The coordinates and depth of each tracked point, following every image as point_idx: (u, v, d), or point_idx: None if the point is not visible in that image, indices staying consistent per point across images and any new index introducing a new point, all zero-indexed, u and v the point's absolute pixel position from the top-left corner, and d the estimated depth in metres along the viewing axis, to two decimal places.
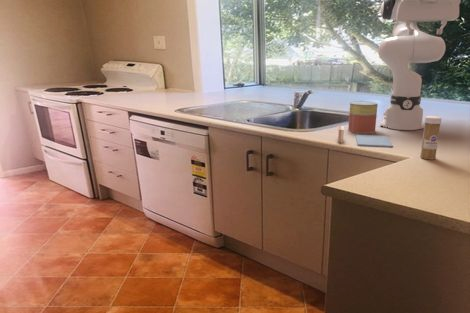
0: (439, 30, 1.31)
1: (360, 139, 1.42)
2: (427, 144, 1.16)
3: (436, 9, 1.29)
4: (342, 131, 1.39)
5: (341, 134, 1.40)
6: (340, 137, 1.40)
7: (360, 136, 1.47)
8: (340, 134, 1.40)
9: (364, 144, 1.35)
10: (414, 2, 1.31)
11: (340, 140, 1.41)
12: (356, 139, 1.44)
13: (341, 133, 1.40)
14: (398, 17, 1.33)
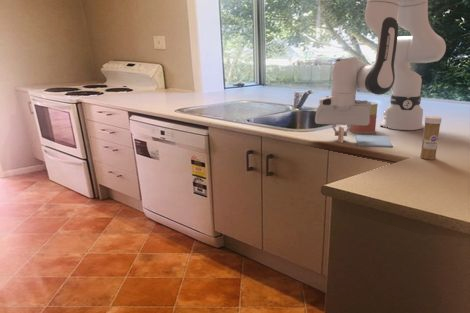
0: (344, 133, 1.42)
1: (360, 139, 1.42)
2: (427, 144, 1.16)
3: (349, 115, 1.39)
4: (342, 131, 1.39)
5: (341, 134, 1.40)
6: (340, 137, 1.40)
7: (360, 136, 1.47)
8: (340, 134, 1.40)
9: (364, 144, 1.35)
10: (329, 109, 1.40)
11: (340, 140, 1.40)
12: (356, 139, 1.44)
13: (341, 133, 1.40)
14: (316, 120, 1.43)
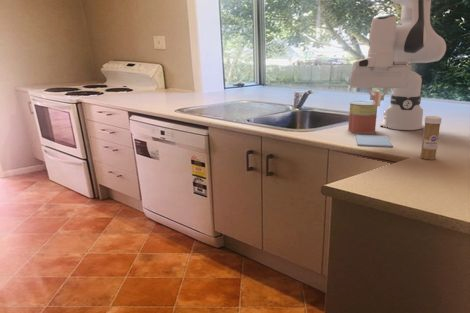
0: (381, 97, 1.36)
1: (360, 139, 1.42)
2: (427, 144, 1.16)
3: (387, 77, 1.32)
4: (379, 94, 1.32)
5: (378, 97, 1.33)
6: (377, 100, 1.33)
7: (360, 136, 1.47)
8: (377, 97, 1.33)
9: (364, 144, 1.35)
10: (365, 71, 1.33)
11: (377, 103, 1.33)
12: (356, 139, 1.44)
13: (378, 96, 1.33)
14: (351, 84, 1.36)
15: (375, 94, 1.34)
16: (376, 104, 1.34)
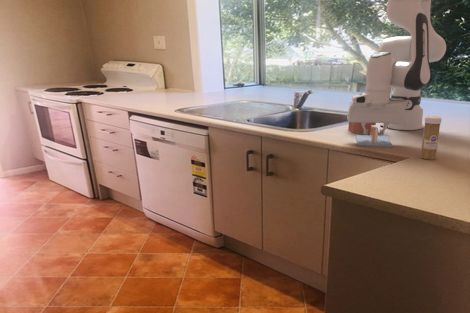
0: (381, 132, 1.39)
1: (360, 139, 1.42)
2: (427, 144, 1.16)
3: (383, 113, 1.36)
4: (376, 130, 1.36)
5: (375, 134, 1.36)
6: (374, 137, 1.37)
7: (360, 136, 1.47)
8: (374, 134, 1.37)
9: (364, 144, 1.35)
10: (363, 106, 1.37)
11: (374, 140, 1.37)
12: (356, 139, 1.44)
13: (375, 132, 1.36)
14: (348, 119, 1.40)
15: (372, 130, 1.38)
16: (373, 140, 1.37)
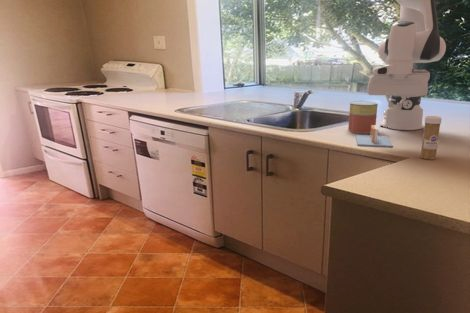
0: (399, 105, 1.35)
1: (360, 139, 1.42)
2: (427, 144, 1.16)
3: (406, 85, 1.32)
4: (376, 130, 1.36)
5: (375, 134, 1.36)
6: (374, 137, 1.37)
7: (360, 136, 1.47)
8: (374, 134, 1.37)
9: (364, 144, 1.35)
10: (384, 78, 1.32)
11: (374, 140, 1.37)
12: (356, 139, 1.44)
13: (375, 132, 1.36)
14: (369, 91, 1.35)
15: (372, 130, 1.38)
16: (373, 140, 1.37)
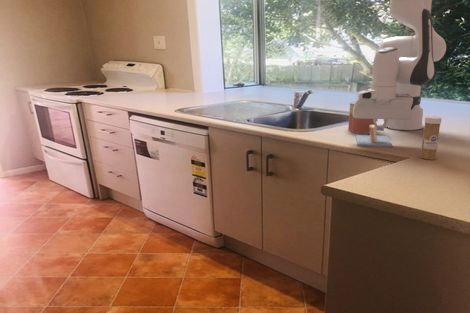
0: (381, 128, 1.38)
1: (360, 139, 1.42)
2: (427, 144, 1.16)
3: (390, 109, 1.35)
4: (374, 130, 1.36)
5: (374, 133, 1.37)
6: (373, 136, 1.37)
7: (360, 136, 1.47)
8: (373, 133, 1.37)
9: (364, 144, 1.35)
10: (369, 102, 1.36)
11: (373, 139, 1.37)
12: (356, 139, 1.44)
13: (374, 132, 1.36)
14: (354, 115, 1.39)
15: (370, 130, 1.38)
16: (373, 140, 1.37)
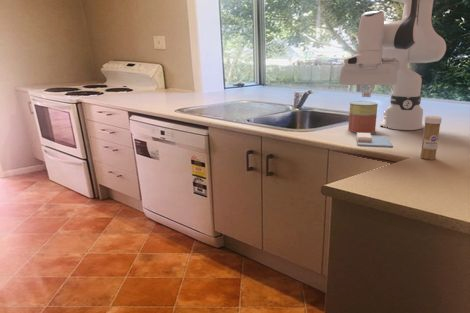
0: (367, 94, 1.37)
1: None
2: (427, 144, 1.16)
3: (376, 74, 1.33)
4: (359, 138, 1.38)
5: (362, 139, 1.38)
6: (366, 140, 1.38)
7: None
8: (362, 140, 1.38)
9: (364, 144, 1.35)
10: (354, 68, 1.34)
11: (369, 140, 1.38)
12: (356, 139, 1.44)
13: (361, 139, 1.38)
14: (340, 81, 1.37)
15: None
16: (370, 140, 1.38)
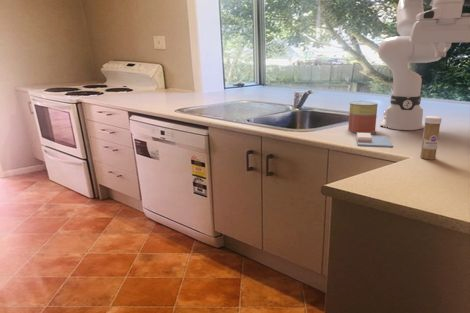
0: (443, 53, 1.25)
1: None
2: (427, 144, 1.16)
3: (454, 31, 1.22)
4: (359, 138, 1.38)
5: (362, 139, 1.38)
6: (366, 140, 1.38)
7: None
8: (362, 140, 1.38)
9: (364, 144, 1.35)
10: (430, 23, 1.22)
11: (369, 140, 1.38)
12: (356, 139, 1.44)
13: (361, 139, 1.38)
14: (413, 39, 1.25)
15: None
16: (370, 140, 1.38)
